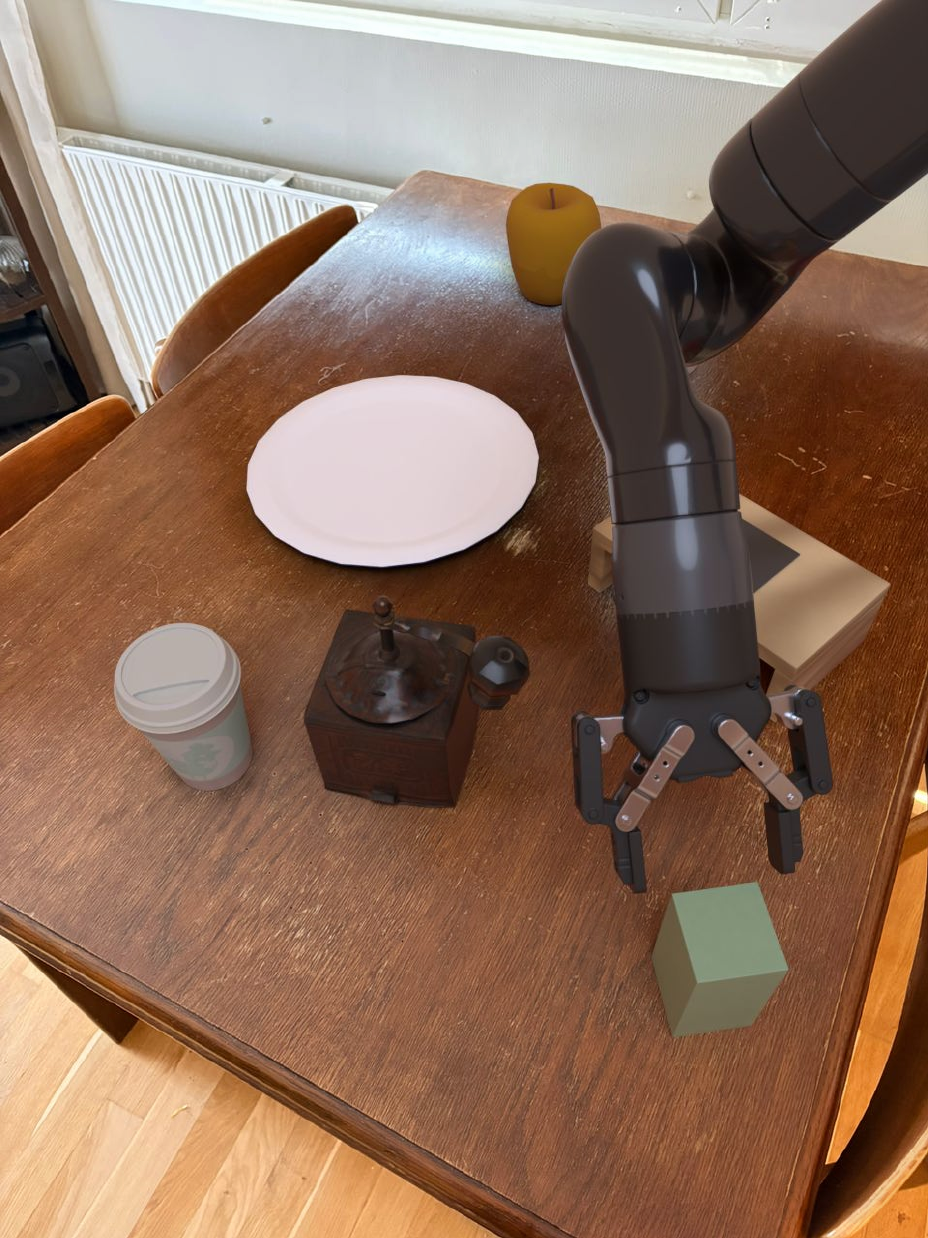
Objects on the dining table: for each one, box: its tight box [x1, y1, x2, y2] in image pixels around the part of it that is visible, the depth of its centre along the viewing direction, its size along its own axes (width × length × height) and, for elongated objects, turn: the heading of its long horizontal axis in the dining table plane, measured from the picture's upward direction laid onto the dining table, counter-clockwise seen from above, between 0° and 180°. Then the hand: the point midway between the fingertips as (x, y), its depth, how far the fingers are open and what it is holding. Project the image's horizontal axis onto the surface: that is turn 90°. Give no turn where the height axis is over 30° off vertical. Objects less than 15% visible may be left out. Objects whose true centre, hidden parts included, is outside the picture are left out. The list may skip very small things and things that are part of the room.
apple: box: [505, 182, 602, 306], centre depth 106 cm, size 11×11×13 cm
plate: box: [246, 374, 540, 569], centre depth 90 cm, size 29×29×2 cm
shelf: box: [587, 493, 891, 723], centre depth 74 cm, size 20×12×7 cm, turn 41°
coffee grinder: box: [302, 595, 531, 808], centre depth 62 cm, size 16×11×18 cm
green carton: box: [650, 881, 790, 1038], centre depth 53 cm, size 5×5×10 cm
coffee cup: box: [113, 622, 254, 792], centre depth 65 cm, size 8×9×12 cm
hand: (710, 879), depth 51 cm, fingers open, 8 cm apart
